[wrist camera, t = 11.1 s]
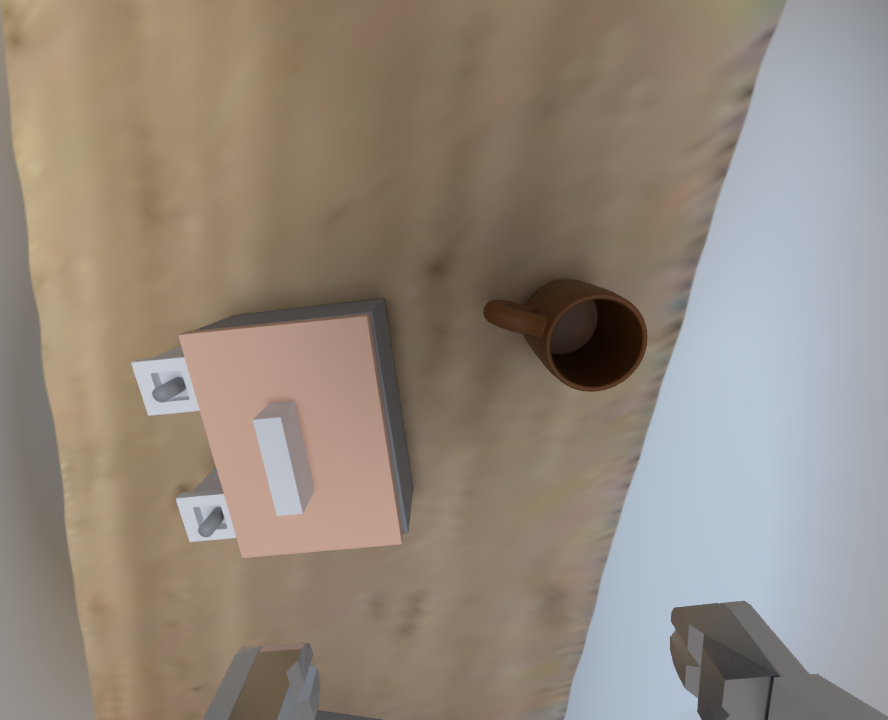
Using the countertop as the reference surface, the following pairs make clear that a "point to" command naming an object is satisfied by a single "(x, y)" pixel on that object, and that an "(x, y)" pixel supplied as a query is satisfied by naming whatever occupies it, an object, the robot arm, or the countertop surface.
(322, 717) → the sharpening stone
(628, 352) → the mug
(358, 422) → the door
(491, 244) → the countertop surface
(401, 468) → the cabinet
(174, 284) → the countertop surface
